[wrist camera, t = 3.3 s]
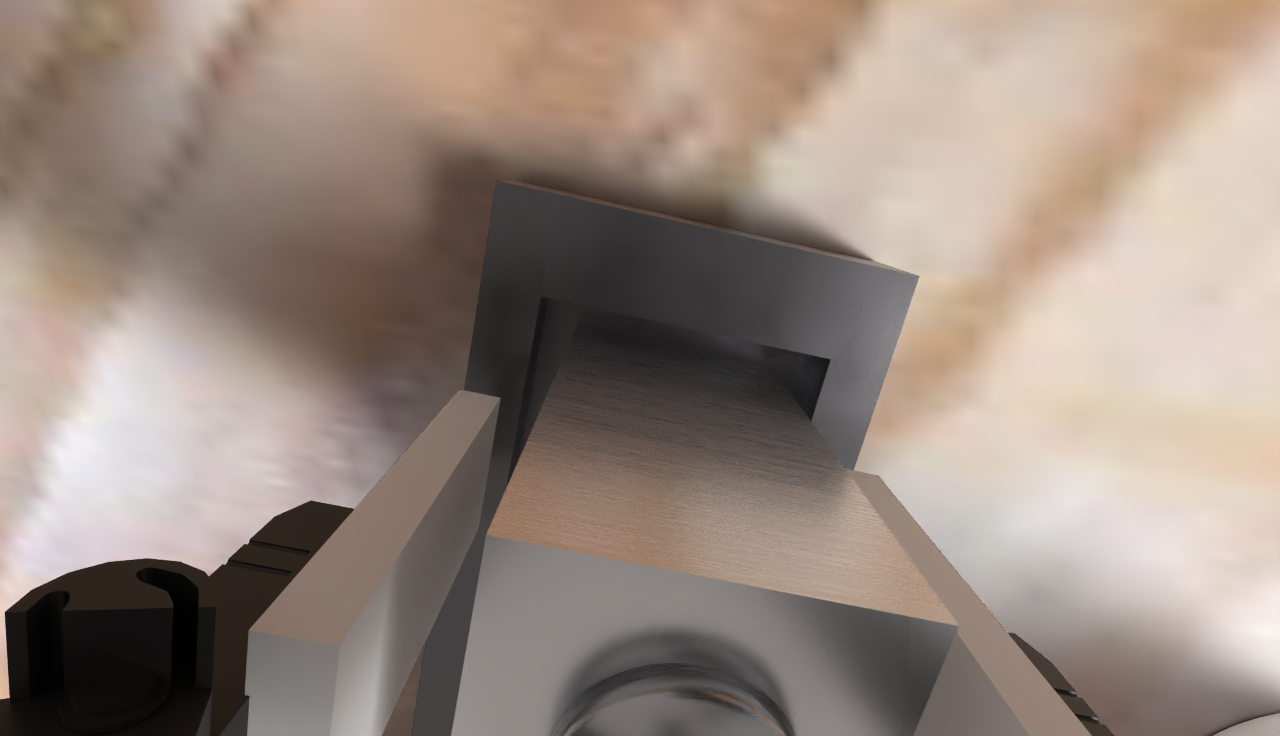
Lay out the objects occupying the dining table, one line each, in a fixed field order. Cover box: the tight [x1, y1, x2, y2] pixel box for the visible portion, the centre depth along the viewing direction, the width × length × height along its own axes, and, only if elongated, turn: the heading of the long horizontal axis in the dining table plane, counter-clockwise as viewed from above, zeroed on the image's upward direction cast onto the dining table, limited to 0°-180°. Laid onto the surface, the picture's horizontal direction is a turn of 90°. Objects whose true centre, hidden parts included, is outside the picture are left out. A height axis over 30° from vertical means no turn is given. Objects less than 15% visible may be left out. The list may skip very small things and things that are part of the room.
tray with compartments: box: [411, 180, 919, 736], centre depth 17 cm, size 25×8×2 cm, turn 168°
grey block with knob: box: [451, 325, 959, 736], centre depth 11 cm, size 4×4×10 cm
